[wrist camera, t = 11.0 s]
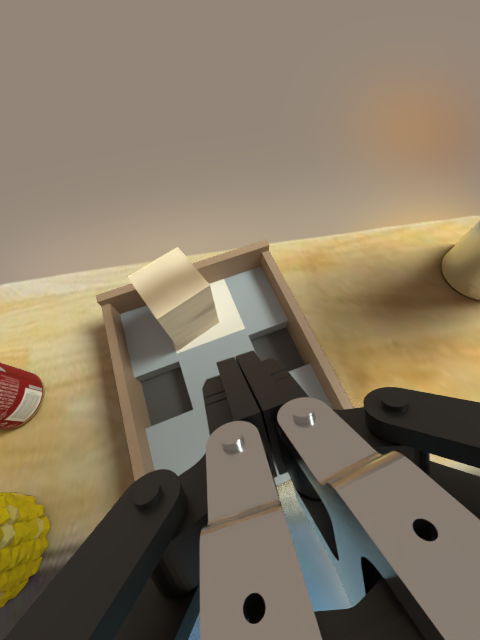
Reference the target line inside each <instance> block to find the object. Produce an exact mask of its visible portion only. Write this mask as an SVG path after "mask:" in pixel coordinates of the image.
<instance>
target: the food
mask: <svg viewBox="0 0 480 640" xmlns="http://www.w3.org/2000/svg"><path fill="white" fill-rule="evenodd" d="M44 509H45V508H44V507H43V506H42V505H40V504H36V499H35V497H32V496H28V495H23V494H19V493H16V492H11V493H4V492H2V493H0V608H1V607H4V605H5V604H6V602H7V601H8V600H9V599H12V598H15V597H16V595H17V594H18V593H19V592H20V591H21V590H22V589H23V588H24V587H25V586H26V584H27V582H28V578H29V577H30V576H32V575H34V574H35V573H36V572H37V571H38V570H39V567H40V564H41V561H42V557H40V556H41V555H42V553H43V552H44V551H45V550H46V548H47V547H48V546H49V543H48V540H47V537H46V535H47V534H48V533H49V530H50V522H49V520H48V517H47V516H45V517H44Z"/></svg>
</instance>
